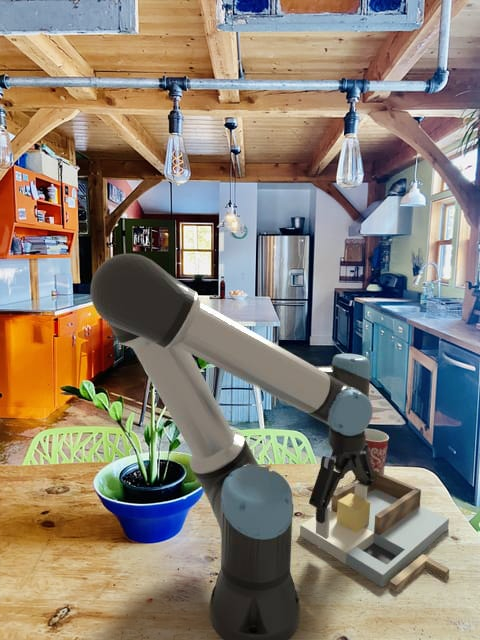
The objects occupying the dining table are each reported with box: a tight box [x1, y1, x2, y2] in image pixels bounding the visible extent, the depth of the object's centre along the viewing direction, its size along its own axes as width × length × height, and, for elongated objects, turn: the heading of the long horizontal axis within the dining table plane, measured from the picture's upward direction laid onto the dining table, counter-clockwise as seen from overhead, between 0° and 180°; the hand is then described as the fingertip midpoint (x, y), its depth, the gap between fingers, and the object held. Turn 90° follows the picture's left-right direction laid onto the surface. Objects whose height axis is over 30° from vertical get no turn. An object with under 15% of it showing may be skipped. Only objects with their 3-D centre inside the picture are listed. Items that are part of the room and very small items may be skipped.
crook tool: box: [388, 553, 450, 593], centre depth 80 cm, size 12×5×1 cm, turn 129°
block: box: [337, 493, 370, 532], centre depth 94 cm, size 5×5×5 cm
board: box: [299, 489, 450, 588], centre depth 95 cm, size 28×20×2 cm
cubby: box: [330, 471, 422, 535], centre depth 100 cm, size 18×12×4 cm
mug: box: [354, 428, 390, 481], centre depth 118 cm, size 13×9×14 cm
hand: (341, 523), depth 92 cm, fingers open, 13 cm apart
